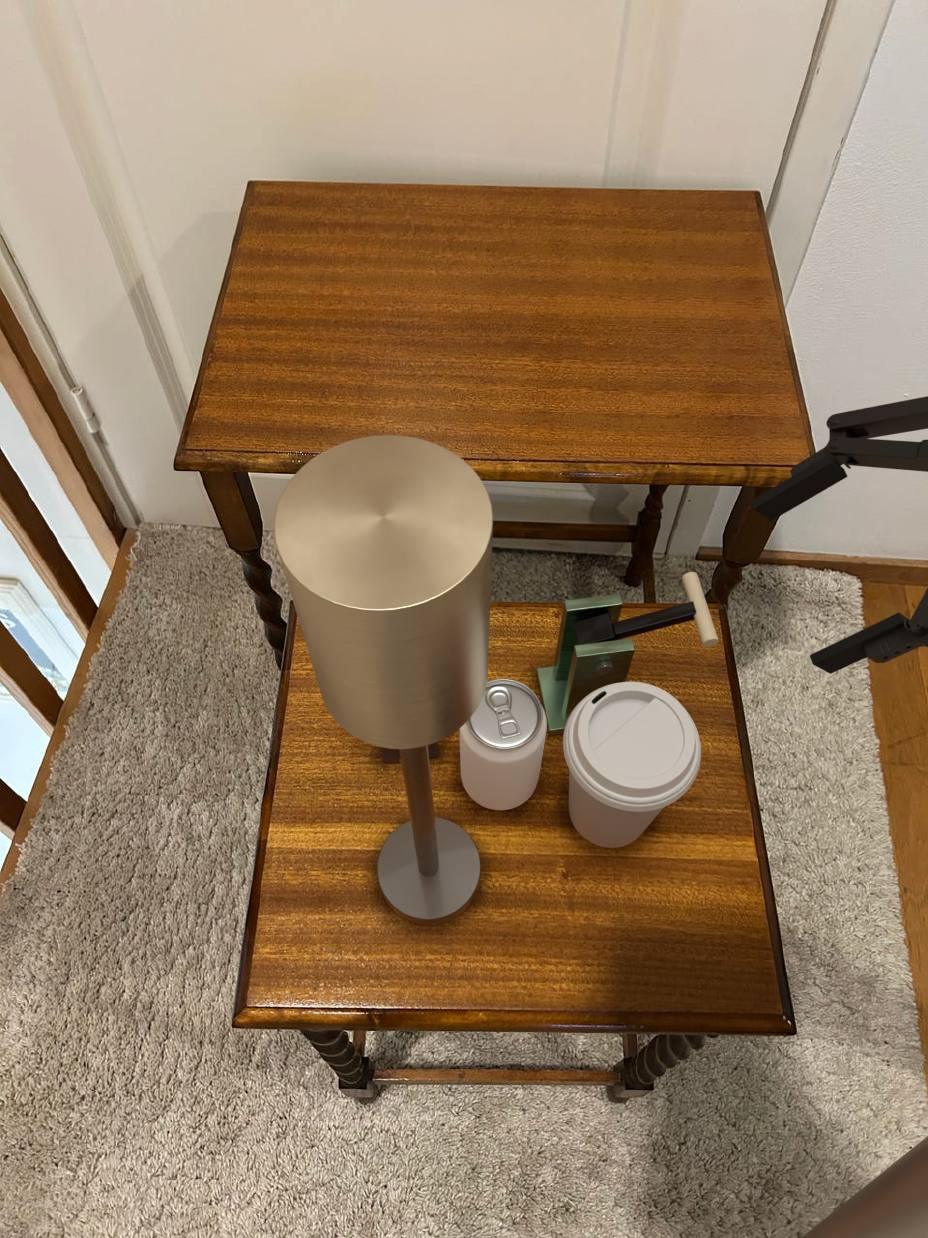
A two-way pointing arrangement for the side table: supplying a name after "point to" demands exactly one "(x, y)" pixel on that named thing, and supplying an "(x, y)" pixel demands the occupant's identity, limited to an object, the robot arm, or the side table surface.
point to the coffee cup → (627, 760)
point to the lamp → (397, 629)
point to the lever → (653, 619)
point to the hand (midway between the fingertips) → (788, 584)
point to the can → (503, 746)
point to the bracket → (582, 661)
